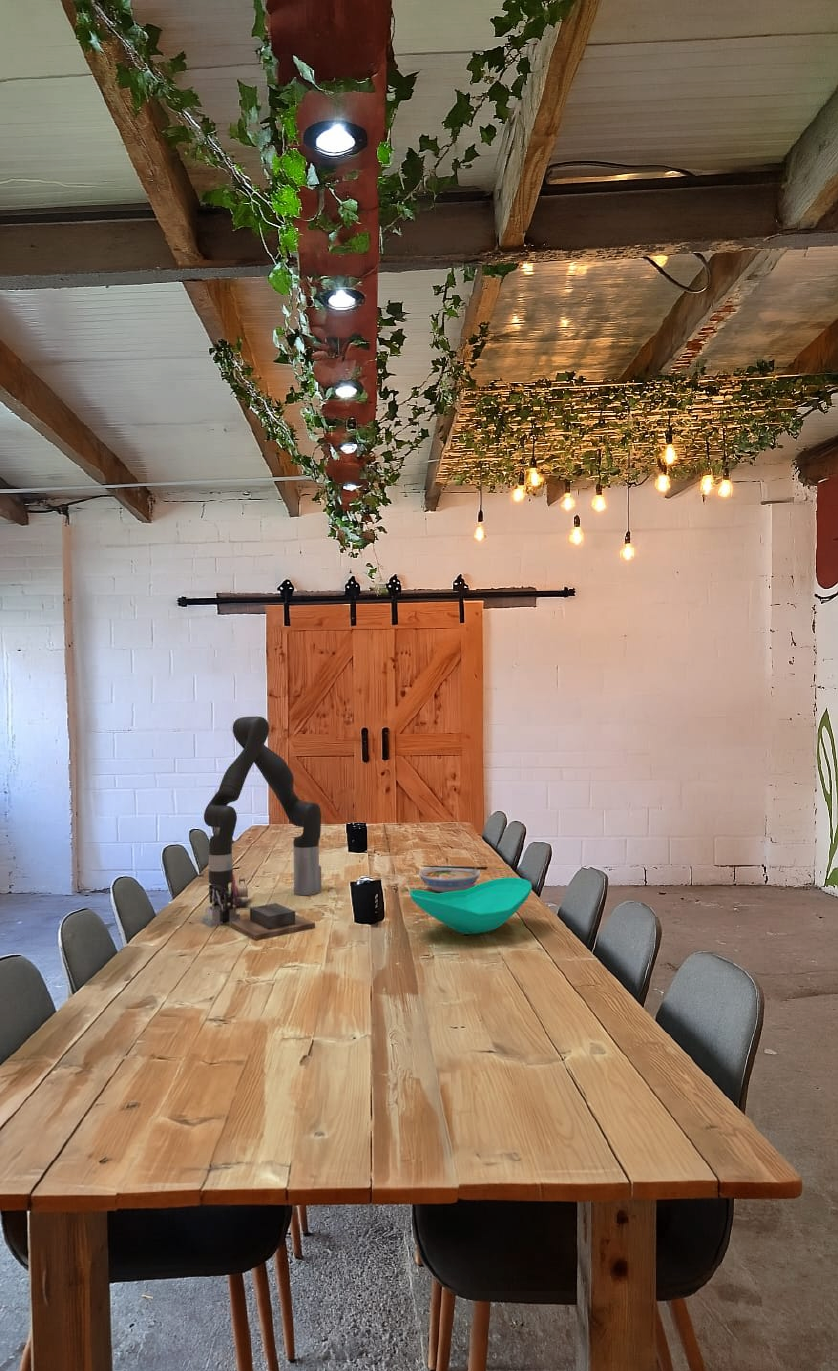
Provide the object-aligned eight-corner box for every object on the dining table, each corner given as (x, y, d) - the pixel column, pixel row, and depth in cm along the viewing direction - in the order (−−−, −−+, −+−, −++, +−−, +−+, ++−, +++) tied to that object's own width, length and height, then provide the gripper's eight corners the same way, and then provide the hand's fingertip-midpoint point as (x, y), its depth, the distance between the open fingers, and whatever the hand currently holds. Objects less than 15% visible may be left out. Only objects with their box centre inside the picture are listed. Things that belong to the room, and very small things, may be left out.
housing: (231, 917, 254) (231, 901, 254) (240, 921, 249) (239, 905, 249) (202, 923, 248) (202, 906, 248) (210, 927, 243) (210, 911, 243)
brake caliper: (211, 897, 270) (232, 868, 273) (237, 914, 274) (257, 885, 276) (215, 905, 260) (237, 875, 263) (242, 922, 263) (263, 892, 266)
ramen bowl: (407, 897, 276) (407, 874, 277) (425, 883, 298) (425, 861, 298) (476, 902, 269) (475, 878, 269) (489, 886, 291) (489, 864, 291)
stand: (287, 915, 255) (287, 898, 255) (315, 927, 241) (314, 909, 241) (230, 927, 243) (230, 909, 243) (255, 940, 229) (255, 921, 229)
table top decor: (434, 954, 214) (434, 905, 214) (393, 928, 239) (393, 885, 239) (553, 933, 231) (552, 889, 232) (503, 911, 256) (503, 871, 256)
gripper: (241, 869, 245) (241, 923, 245) (222, 862, 257) (223, 913, 256) (218, 873, 241) (219, 927, 240) (200, 865, 252) (201, 917, 252)
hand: (221, 920), depth 248 cm, fingers open, 6 cm apart
